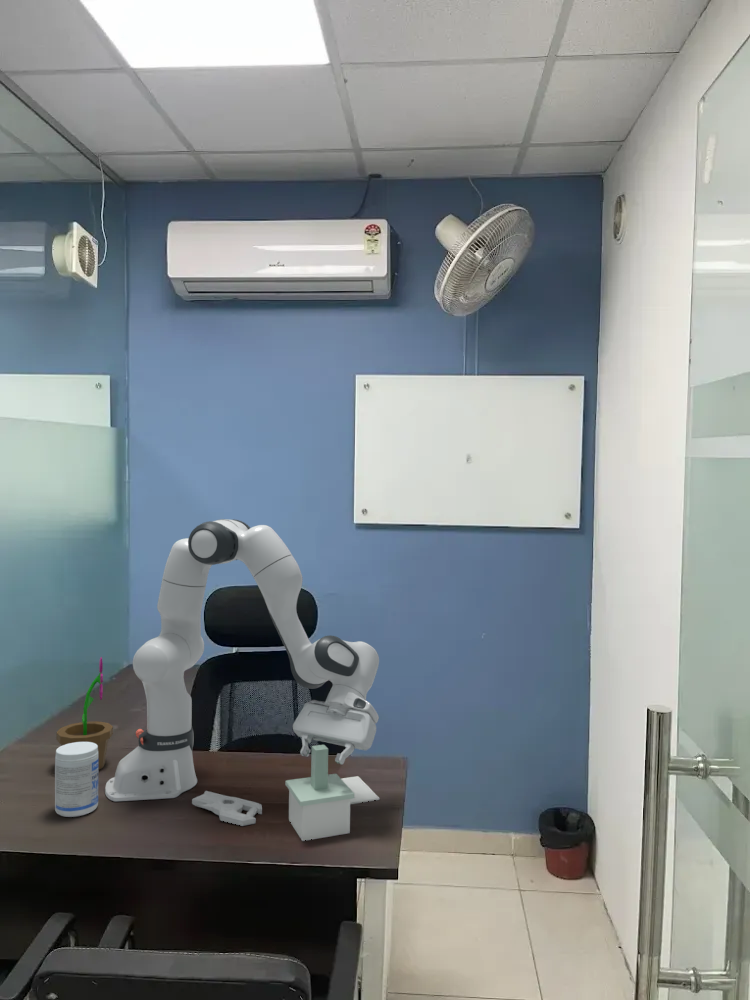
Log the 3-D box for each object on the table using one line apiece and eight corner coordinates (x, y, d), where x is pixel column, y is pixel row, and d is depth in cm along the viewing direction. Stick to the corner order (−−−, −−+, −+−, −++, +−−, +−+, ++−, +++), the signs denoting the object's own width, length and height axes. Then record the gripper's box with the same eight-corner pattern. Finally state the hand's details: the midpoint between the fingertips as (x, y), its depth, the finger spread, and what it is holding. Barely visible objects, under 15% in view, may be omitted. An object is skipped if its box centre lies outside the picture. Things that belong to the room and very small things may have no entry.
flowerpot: (113, 772, 196) (115, 660, 196) (55, 780, 191) (56, 665, 191) (111, 754, 210) (112, 649, 209) (56, 761, 204) (57, 653, 204)
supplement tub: (102, 812, 172) (103, 750, 172) (59, 822, 167) (59, 757, 167) (92, 798, 180) (93, 738, 180) (51, 806, 175) (51, 745, 175)
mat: (321, 808, 176) (321, 807, 176) (304, 785, 190) (304, 783, 190) (379, 799, 182) (379, 798, 182) (358, 777, 196) (358, 776, 196)
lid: (300, 809, 159) (301, 760, 159) (285, 788, 170) (286, 741, 170) (354, 801, 163) (355, 753, 163) (336, 781, 175) (336, 735, 175)
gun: (182, 800, 172) (207, 784, 181) (181, 814, 172) (206, 798, 181) (250, 817, 165) (272, 801, 175) (249, 832, 165) (271, 815, 175)
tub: (302, 841, 160) (302, 804, 160) (288, 819, 170) (289, 785, 170) (349, 833, 164) (350, 797, 164) (333, 812, 174) (334, 779, 174)
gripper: (302, 692, 179) (278, 744, 170) (376, 704, 169) (354, 760, 160) (312, 705, 182) (289, 757, 174) (385, 718, 173) (364, 774, 164)
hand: (321, 758), depth 167 cm, fingers open, 8 cm apart
